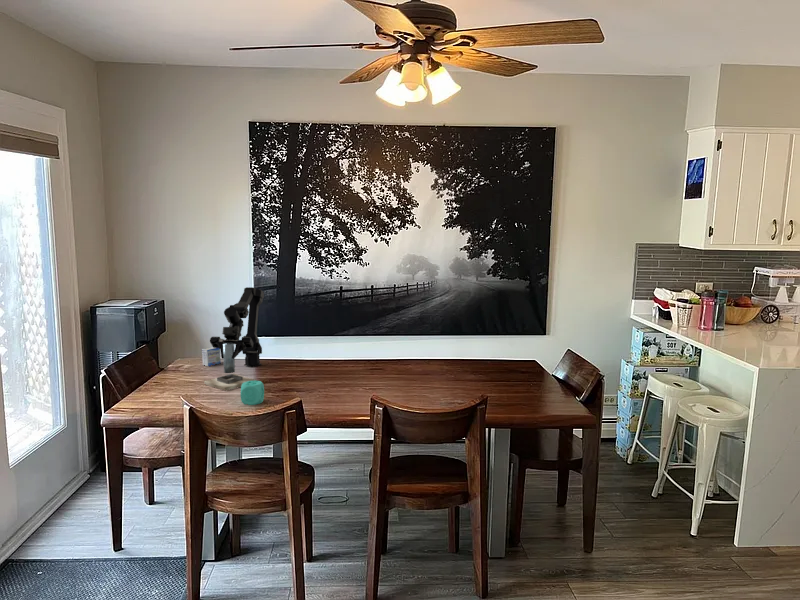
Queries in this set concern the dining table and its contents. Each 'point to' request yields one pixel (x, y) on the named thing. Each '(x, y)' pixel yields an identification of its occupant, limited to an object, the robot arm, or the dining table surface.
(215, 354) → the medicine box
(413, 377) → the dining table surface
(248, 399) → the decorative dice
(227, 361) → the shiny steel cylinder
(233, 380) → the collar base
